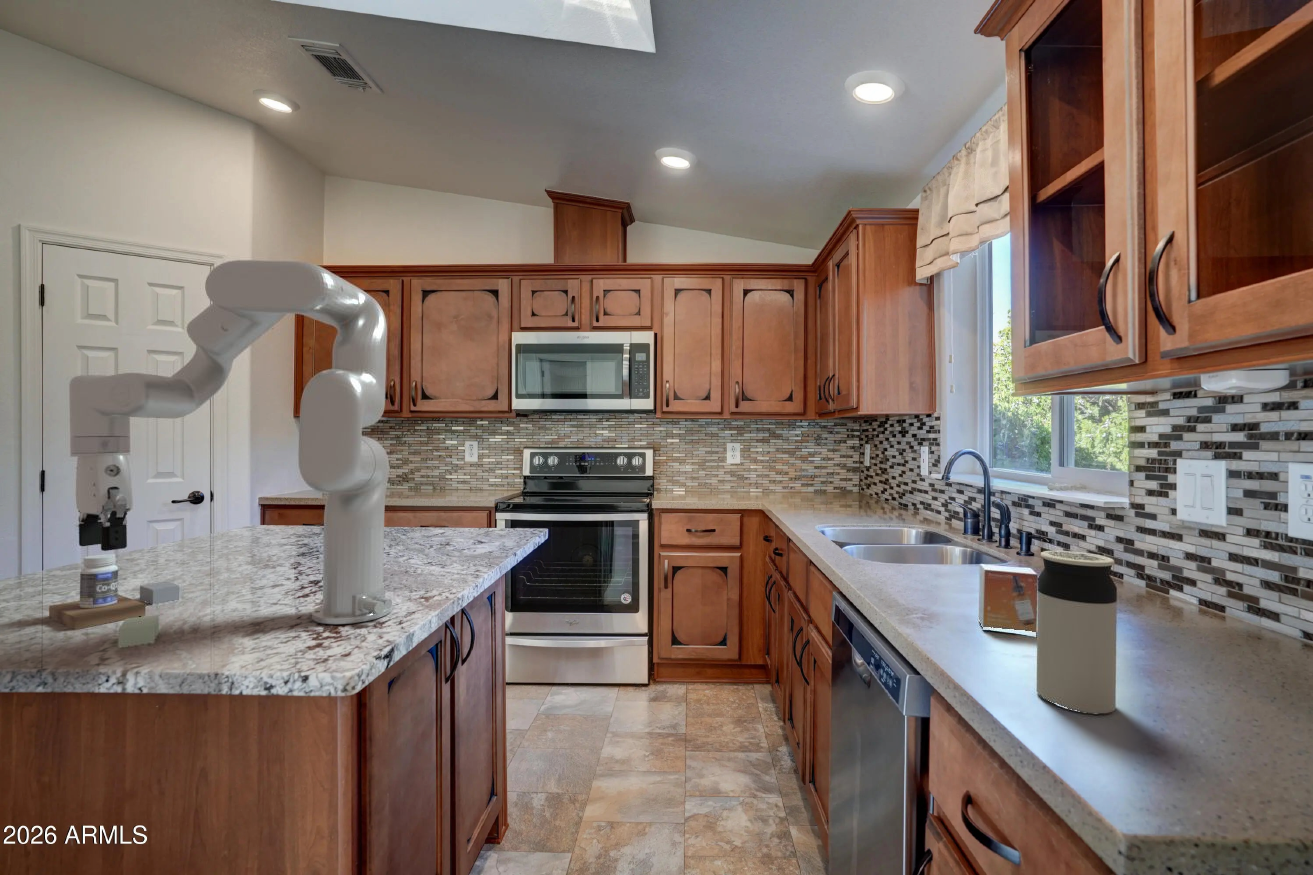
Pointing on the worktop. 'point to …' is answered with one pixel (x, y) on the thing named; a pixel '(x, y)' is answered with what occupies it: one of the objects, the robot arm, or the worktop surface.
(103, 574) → the pill bottle
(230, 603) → the worktop surface
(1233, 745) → the worktop surface
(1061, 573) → the travel mug
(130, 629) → the sage brick
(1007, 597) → the small box
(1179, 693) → the worktop surface
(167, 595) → the grey brick
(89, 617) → the walnut block
